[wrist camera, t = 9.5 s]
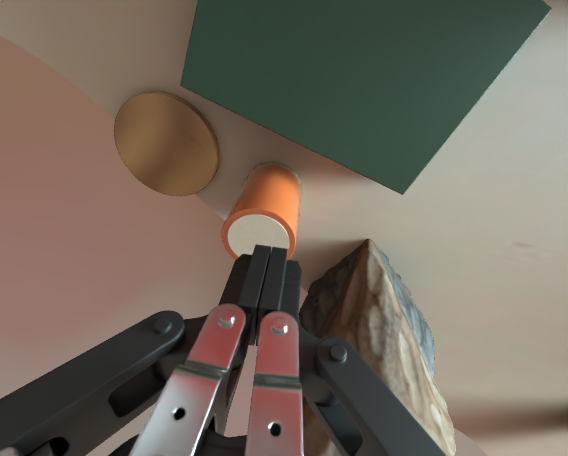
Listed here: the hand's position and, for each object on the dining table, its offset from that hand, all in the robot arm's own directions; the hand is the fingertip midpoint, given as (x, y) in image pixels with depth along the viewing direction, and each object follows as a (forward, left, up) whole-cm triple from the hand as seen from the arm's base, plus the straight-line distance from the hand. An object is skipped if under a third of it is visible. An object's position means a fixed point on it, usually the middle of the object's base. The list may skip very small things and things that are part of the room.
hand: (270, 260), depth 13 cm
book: (0, +8, -16) cm, 18 cm away
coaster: (-11, -5, -16) cm, 20 cm away
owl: (+15, -11, -16) cm, 25 cm away
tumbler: (0, -1, -16) cm, 16 cm away
